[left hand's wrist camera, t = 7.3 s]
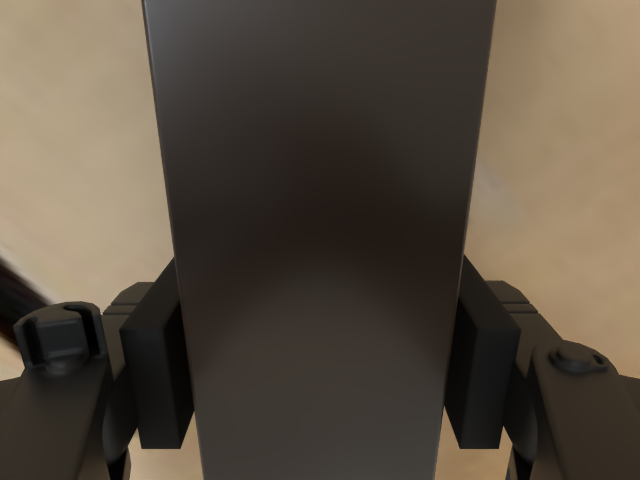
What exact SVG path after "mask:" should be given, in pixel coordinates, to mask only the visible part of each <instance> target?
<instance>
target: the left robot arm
mask: <svg viewBox="0 0 640 480" xmlns="http://www.w3.org/2000/svg"><path fill="white" fill-rule="evenodd" d="M13 329H14V332H15V335H16V339H17V342H18V346H19V349H20V353H21V356H22V359H23V363H24V366H25V369H24V371H23V373H22V375H21V377H18V378H14V379H9V380H3V381H0V480H129V479H130V471H131V460H130V454H129V449H128V445H129V443H130V441H131V439H132V437H133V435H134V433H135V431H136V429H137V427H138V432H139V438H140V443H141V448H142V449H180V448H181V446H182V443H183V440H184V437H185V435H186V432H187V429H188V426H189V424H190V421H191V418H192V415H193V413H194V403H193V395H192V388H191V380H190V372H189V365H188V357H187V349H186V342H185V334H184V326H183V319H182V311H181V303H180V295H179V288H178V280H177V272H176V265H175V257H173V259H172V260H171V261H170V263H169V264H168V265H167V267H166V268H165V269H164V271H163V272H162V273H161V275H160V276H159V277H158V279H157V280H156V281H155V282H137V283H136V284H134V285H132V286H130V287H129V288H127V289H125V290H124V291H122V292H121V293H120V294H119V295H118V296H117V297H116V298H115V299H114V301H113V302H112V303H111V306H108V307H107V309H106V310H105V311H104V312H103V315H101V314H100V309H99V308H98V307H97V306H95V305H94V304H92V303H87V302H82V301H80V302H64V303H59V304H54V305H50V306H47V307H44V308H41V309H38V310H36V311H33V312H32V313H30V314H28V315H26V316H25V317H23V318H21V319H20V320H19V321H18V322H17V323H16V324H15V325H14V326H13ZM444 406H445V409H446V412H447V414H448V417H449V420H450V423H451V425H452V428H453V431H454V434H455V436H456V439H457V442H458V445H459V447H460V449H499V445H500V439H501V434H502V429H503V426H504V428H505V430H506V432H507V434H508V436H509V438H510V440H511V441H512V443H513V444H512V449H511V454H510V459H509V464H508V469H507V473H506V478H505V480H640V379H637V378H632V377H627V376H623V375H619V374H618V372H617V370H616V368H615V367H614V365H613V364H612V363H611V362H610V361H609V360H608V358H606V357H605V356H603V355H602V354H600V353H599V352H597V351H596V350H594V349H591V348H589V347H587V346H584V345H582V344H579V343H575V342H571V341H566V340H563V339H562V338H561V337H560V336H559V335H558V333H557V332H556V331H555V330H554V329H553V328H552V327H551V326H550V324H549V323H548V322H547V321H546V320H545V319H544V318H543V316H542V315H541V314H538V311H537V310H536V309H535V307H534V306H533V305H532V304H530V303H529V301H528V299H527V298H526V297H525V296H524V295H523V294H522V293H521V292H520V290H518V289H516V288H514V287H513V286H511V285H509V284H508V283H506V282H504V281H484V279H483V278H482V277H481V276H480V274H479V273H478V272H477V270H476V269H475V268H474V266H473V265H472V264H471V262H470V261H469V260H468V258H467V257H466V256H465V254H464V255H463V263H462V271H461V278H460V286H459V294H458V301H457V309H456V317H455V324H454V332H453V340H452V347H451V355H450V363H449V370H448V378H447V386H446V393H445V401H444Z"/></svg>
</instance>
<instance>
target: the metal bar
mask: <svg viewBox="0 0 640 480" xmlns="http://www.w3.org/2000/svg"><path fill="white" fill-rule="evenodd" d="M496 2H497V0H141V4H142V11H143V19H144V27H145V34H146V42H147V50H148V57H149V65H150V73H151V80H152V88H153V96H154V103H155V111H156V119H157V126H158V134H159V142H160V149H161V157H162V165H163V173H164V180H165V188H166V196H167V203H168V211H169V219H170V226H171V234H172V242H173V249H174V257H175V265H176V272H177V280H178V288H179V295H180V303H181V311H182V319H183V326H184V334H185V342H186V349H187V357H188V365H189V372H190V380H191V388H192V395H193V403H194V411H195V418H196V426H197V434H198V441H199V449H200V457H201V464H202V472H203V480H434V478H435V470H436V462H437V455H438V447H439V439H440V432H441V424H442V416H443V409H444V401H445V393H446V386H447V378H448V370H449V363H450V355H451V347H452V340H453V332H454V324H455V317H456V309H457V301H458V294H459V286H460V278H461V271H462V263H463V255H464V248H465V240H466V232H467V225H468V217H469V209H470V202H471V194H472V186H473V179H474V171H475V163H476V156H477V148H478V140H479V133H480V125H481V117H482V110H483V102H484V94H485V87H486V79H487V71H488V64H489V56H490V48H491V41H492V33H493V25H494V18H495V10H496Z"/></svg>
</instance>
